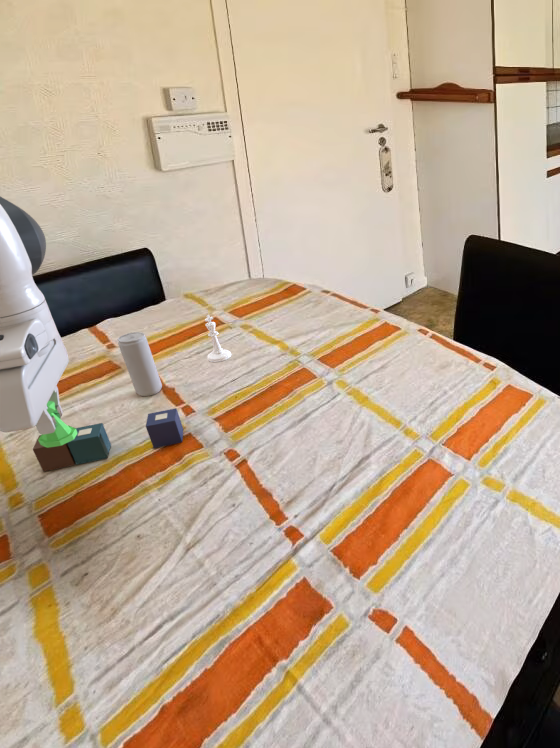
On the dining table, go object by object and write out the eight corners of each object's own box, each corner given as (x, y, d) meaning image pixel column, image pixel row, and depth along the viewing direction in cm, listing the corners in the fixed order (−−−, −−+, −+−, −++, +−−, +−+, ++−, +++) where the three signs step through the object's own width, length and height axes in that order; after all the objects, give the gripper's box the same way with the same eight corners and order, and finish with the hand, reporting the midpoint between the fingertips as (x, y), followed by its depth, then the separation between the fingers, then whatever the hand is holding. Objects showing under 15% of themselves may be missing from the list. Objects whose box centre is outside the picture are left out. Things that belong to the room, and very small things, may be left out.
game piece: (85, 430, 86) (69, 392, 83) (62, 448, 82) (45, 409, 79) (56, 429, 86) (40, 391, 83) (32, 446, 82) (14, 407, 79)
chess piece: (236, 355, 139) (225, 313, 134) (217, 363, 135) (205, 321, 130) (222, 350, 141) (210, 309, 136) (202, 359, 137) (190, 317, 133)
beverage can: (159, 383, 128) (141, 329, 122) (166, 391, 125) (147, 337, 119) (134, 390, 125) (114, 336, 120) (139, 399, 122) (119, 344, 116)
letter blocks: (43, 472, 102) (32, 448, 99) (49, 457, 105) (38, 434, 103) (182, 442, 108) (174, 419, 106) (183, 429, 112) (176, 407, 110)
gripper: (5, 304, 84) (43, 393, 90) (-52, 368, 67) (1, 472, 73) (60, 297, 86) (93, 385, 92) (18, 358, 69) (62, 460, 75)
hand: (52, 424), depth 83 cm, fingers closed on game piece, 2 cm apart
